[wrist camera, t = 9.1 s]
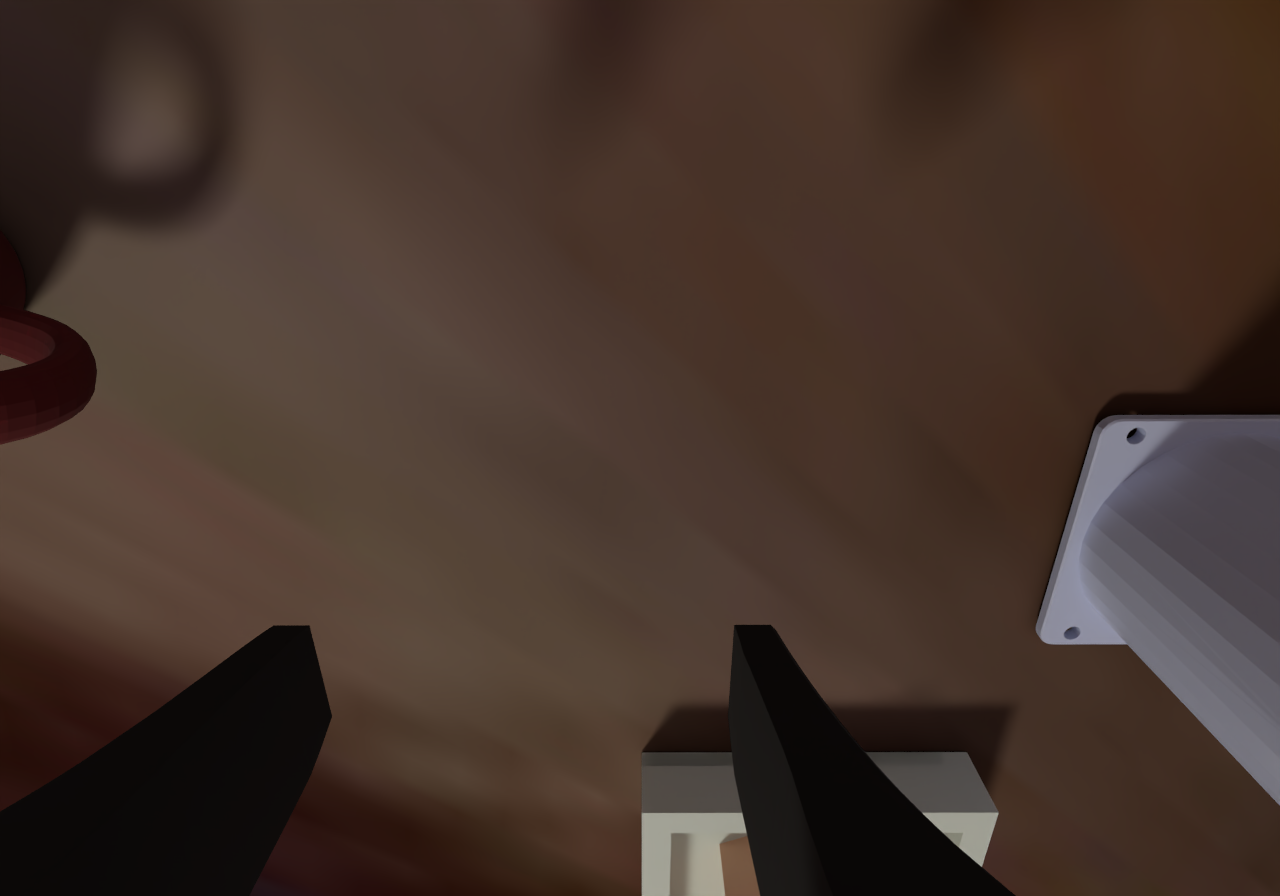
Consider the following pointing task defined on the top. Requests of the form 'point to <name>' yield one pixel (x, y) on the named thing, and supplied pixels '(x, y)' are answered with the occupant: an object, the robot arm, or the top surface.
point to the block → (738, 868)
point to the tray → (711, 814)
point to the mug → (37, 361)
